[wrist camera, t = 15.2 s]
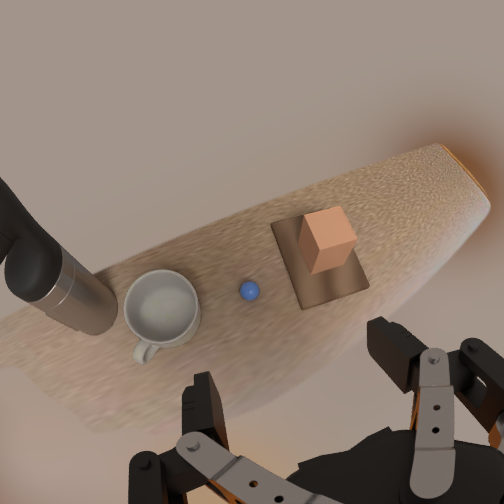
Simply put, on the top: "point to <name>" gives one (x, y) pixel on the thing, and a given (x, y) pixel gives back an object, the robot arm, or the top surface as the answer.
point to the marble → (249, 290)
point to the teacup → (161, 312)
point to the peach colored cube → (326, 239)
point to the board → (319, 284)
